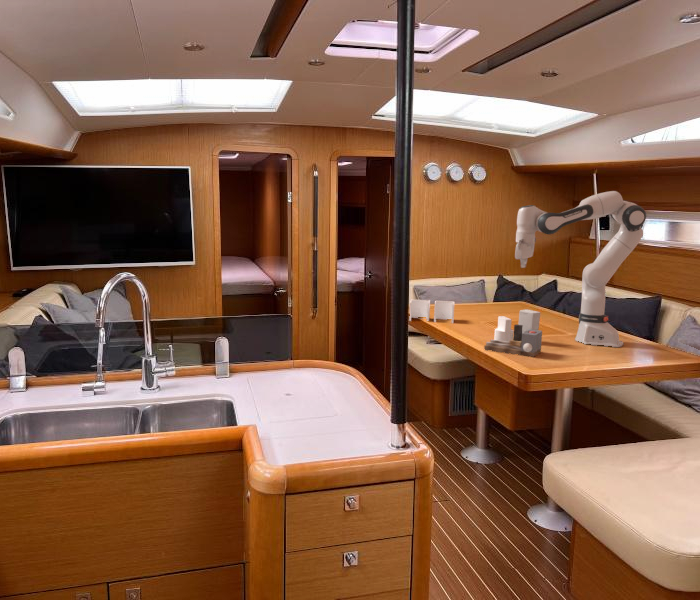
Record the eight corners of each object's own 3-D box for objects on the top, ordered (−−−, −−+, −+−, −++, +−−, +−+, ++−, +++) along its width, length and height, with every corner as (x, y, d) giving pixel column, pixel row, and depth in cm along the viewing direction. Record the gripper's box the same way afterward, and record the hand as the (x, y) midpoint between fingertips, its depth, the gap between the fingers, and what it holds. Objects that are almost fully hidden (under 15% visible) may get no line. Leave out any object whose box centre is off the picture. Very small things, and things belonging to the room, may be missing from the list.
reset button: (535, 338, 285) (536, 331, 285) (534, 339, 283) (534, 332, 282) (529, 337, 287) (530, 331, 286) (527, 338, 284) (528, 332, 284)
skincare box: (516, 341, 311) (518, 310, 309) (524, 339, 316) (526, 309, 313) (530, 344, 305) (533, 312, 303) (538, 342, 309) (540, 311, 307)
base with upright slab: (515, 343, 306) (517, 319, 304) (498, 343, 304) (500, 319, 302) (507, 339, 315) (509, 316, 313) (491, 339, 313) (492, 316, 311)
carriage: (524, 343, 291) (526, 324, 289) (520, 346, 284) (521, 327, 282) (514, 342, 293) (515, 323, 292) (509, 345, 286) (510, 326, 285)
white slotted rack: (453, 320, 364) (454, 301, 362) (453, 323, 353) (454, 304, 352) (410, 317, 368) (411, 299, 366) (409, 321, 357) (409, 302, 356)
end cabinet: (540, 351, 289) (542, 330, 288) (533, 357, 279) (535, 335, 277) (527, 350, 292) (529, 329, 291) (520, 355, 282) (521, 333, 280)
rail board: (540, 351, 289) (541, 345, 289) (533, 357, 279) (534, 350, 279) (492, 345, 301) (492, 338, 300) (484, 349, 291) (484, 343, 290)
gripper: (525, 240, 292) (524, 269, 294) (537, 238, 309) (535, 266, 311) (512, 239, 295) (510, 268, 297) (524, 237, 312) (522, 265, 315)
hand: (523, 267), depth 304 cm, fingers closed
